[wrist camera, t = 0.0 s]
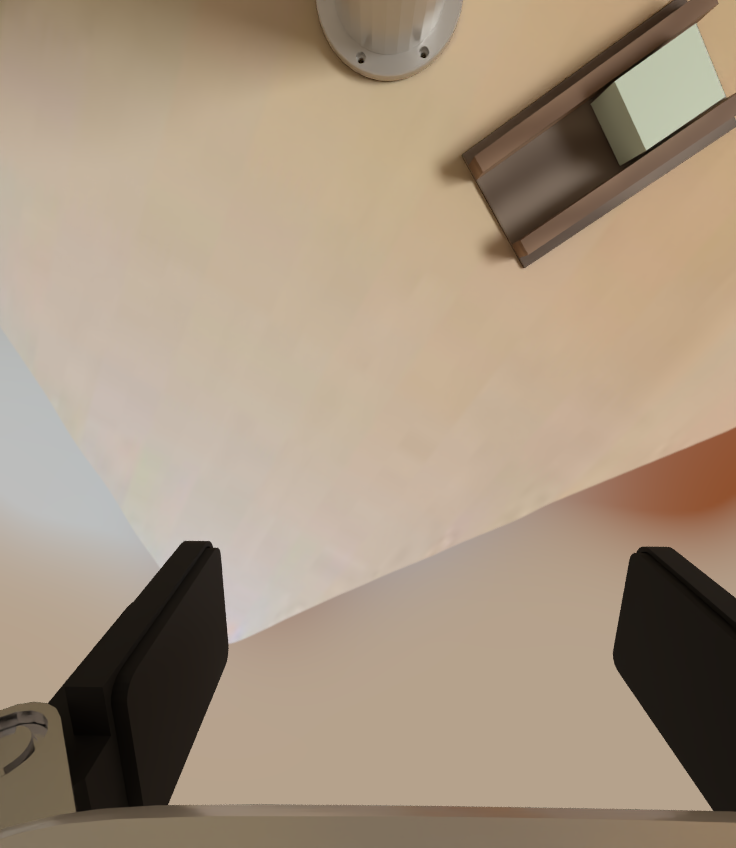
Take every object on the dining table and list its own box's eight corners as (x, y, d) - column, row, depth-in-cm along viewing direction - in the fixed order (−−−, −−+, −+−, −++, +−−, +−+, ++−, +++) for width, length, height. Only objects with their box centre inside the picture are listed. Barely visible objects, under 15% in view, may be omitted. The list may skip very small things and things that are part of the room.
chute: (461, 155, 41) (468, 144, 38) (681, -5, 38) (705, -29, 35) (523, 268, 43) (534, 265, 41) (735, 127, 40) (761, 113, 37)
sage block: (590, 104, 39) (614, 81, 35) (663, 52, 38) (695, 23, 34) (619, 165, 40) (646, 150, 36) (690, 117, 39) (725, 96, 35)
